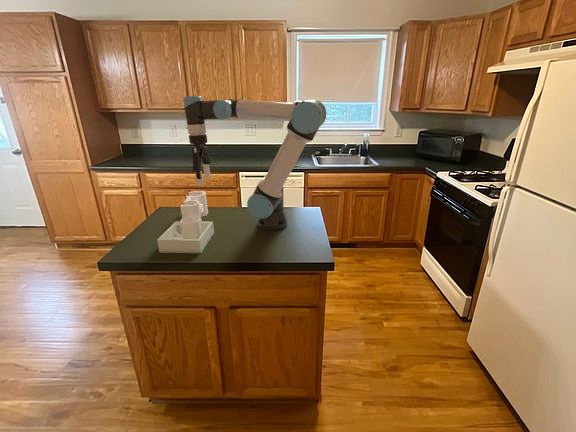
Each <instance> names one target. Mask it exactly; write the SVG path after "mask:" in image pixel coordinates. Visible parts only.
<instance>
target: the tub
mask: <svg viewBox="0 0 576 432" xmlns="http://www.w3.org/2000/svg"><path fill="white" fill-rule="evenodd" d="M177 222H180V220H175V221H174V222H173V223H172V224H171V225H170V227H169V228H167V230H165V232H164V233H162V234H161V235H160V236H159V238H157V240H156V241H157V242H156V243H157V247H158V251H159V254H160V253H161V254H202V253H203V252H204V249H205V248H206V247H207V246H208V244H209V242H210V241H211V239H212V237H213V236H214V235H215V228H214V227H215V226H214V221H200V224H201V232H202V235H201V236H200V237H199V239H183V238H181V237H177V236H176V235H175V233H174V224H175V223H177ZM176 231H177V233H178V234H179V235H182V229H181V225H177V226H176Z"/></svg>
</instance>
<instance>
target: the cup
mask: <svg viewBox="0 0 576 432" xmlns="http://www.w3.org/2000/svg"><path fill="white" fill-rule="evenodd" d="M179 221H180V222H177V223H175V222H174V223H175V224H174V223H173V224H174V233H175V235H176V236H177V237H181V238H183V239H199V237H200V236H201V235H202V232H201V224H200V218H199V217H196V216H189V217H185V218H183V219H182V218H181V219H180V220H179ZM177 225H181V229H182V235H179V234H178V233H177V231H176V226H177Z"/></svg>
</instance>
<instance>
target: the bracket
mask: <svg viewBox="0 0 576 432" xmlns="http://www.w3.org/2000/svg"><path fill="white" fill-rule="evenodd" d="M179 207H180V212H181V213H180V214H181V219H183V218H185V217H189V216H196V217H199V218H200V221H202V218H203V216H204V217H206V216H208V215H207V214H209V210H208V200H207V192H205V191H203V190H193V191H188V195H185V200H184V201H183V204H181V205H179Z"/></svg>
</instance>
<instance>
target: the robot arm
mask: <svg viewBox="0 0 576 432" xmlns="http://www.w3.org/2000/svg"><path fill="white" fill-rule="evenodd" d="M183 110H184V114H185V118H186V119H185V120H186V129H187V134H189V135H188V140H189V144H190V145H194V147H192V148H191V151H192V172H193V173H194V174H195V180H196V186H197V187H204V179H211V176H212V175H211V170H210V169H211V168H210V165H211V160H210V157H209V156H210V155H209V153H208V149H207V143H208V136H207V134H206V133H207V127H206V121H208V120H220V121H222V120H229V119H230V118H237V119H238V118H240V119H252V120H253V119H255V120H267V121H282V122H287V126H286V129H287V134H286V136H285V137H284V140H283V142H282V144H281V146H280V147H279V149H278V151H277V154H276V155H275V158H274V159H273V161H272V163H271V165H270V167H269V169H268V172H267V173H266V175H265V177H264V179H263V180H262V179H261V180H260V181H259V182H258V183H257V185H256V187H255V189H254V191H253V193H252V195H250V196H249V197H248V199H247V201H246V202H247V203H246V207H247V210H248V212H249V213H250V215H252V216H253V217H254V218H257V227H258V228H259V229H262V230H265V231H277V230H278V231H279V230H282V229H284V228H286V227H287V226H288V219H287V216H286V215H287V214H286V213H285V211H284V205H285V204H284V188H285V187H284V185H285V184H286V182H287V180H288V178H289V176H290V174H291V172H292V170H293V169H294V167H295V165H296V163H297V161H298V159H299V158H300V156H301V155H302V153H303V150H304V148H305V147H306V145H307V144H308V143H311V142H312V141H313V140H314V138H315V136H316V135H317V133H318V132H319V129H320V127H321V126H322V125H323V124H324V122H325V120H326V118H327V109H326V107H325V105H324V104H323V103H322V102H321V101H320V100H318V99H313V98H312V99H303V100H295V101H294V102H282V101H281V102H279V101H278V102H277V101H264V100H263V101H262V100H242V99H241V100H240V99H239V100H238V99H232V98H227V99H216V100H215V99H214V100H203V99H202V96H201V95H193V96H192V95H191V96H190V95H189V96H187V95H186V96H184V97H183ZM202 163H203V164H202ZM202 169H203V172H202ZM203 174H204V176H203ZM203 177H204V178H203Z"/></svg>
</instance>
